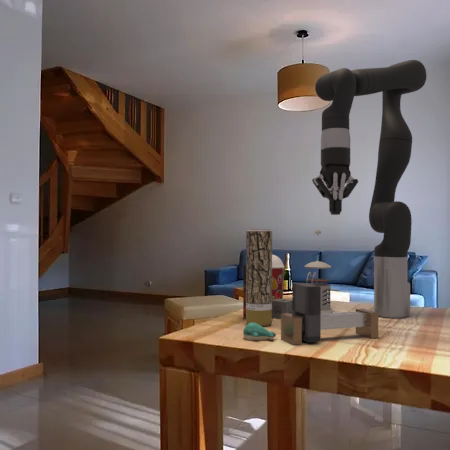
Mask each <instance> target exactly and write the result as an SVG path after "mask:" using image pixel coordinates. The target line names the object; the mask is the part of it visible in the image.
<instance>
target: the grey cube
mask: <svg viewBox="0 0 450 450" xmlns="http://www.w3.org/2000/svg"><path fill="white" fill-rule="evenodd" d="M283 313H290V314H292V299H286V298H283V299H275V300H272V319H276V320H281V314H283Z"/></svg>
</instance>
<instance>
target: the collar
mask: <svg viewBox="0 0 450 450" xmlns="http://www.w3.org/2000/svg"><path fill="white" fill-rule="evenodd" d="M307 283H308V282H294V283H292V285H291V286H292V289H291V290H292V297H291V300H292V314H293V315H304V314H305V331H302V341H304V342H306V343H308V344H309V343H317V342H318V343H319V342H321V335H322V333H321V331H322V330H321V286H316V285H311V284H307Z"/></svg>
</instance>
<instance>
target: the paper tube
mask: <svg viewBox="0 0 450 450" xmlns="http://www.w3.org/2000/svg"><path fill="white" fill-rule="evenodd" d="M245 232H246V233H245V235H246V236H245V238H246V239H245V241H246V244H245V245H246V246H245V247H246V249H245V264H246V320H245V322H246V325H247V324H249V323H252V322H254V323H257V324H259V325H260V326H262V327H267V326H270V325H272V320H273V318H272V255H273V230H272V229H268V228H266V229H265V228H264V229H263V228H261V229H259V228H258V229H257V228H256V229H255V228H253V229H252V228H251V229H250V228H248V229H246V231H245Z"/></svg>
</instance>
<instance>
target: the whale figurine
mask: <svg viewBox="0 0 450 450" xmlns="http://www.w3.org/2000/svg"><path fill="white" fill-rule="evenodd" d="M242 336H243V338H244V339H245V340H246V341H247V340H248V341H253V342H254V341H267V340H273V339H274V338H275V337H276V336H277V334H276V333H275V331H269V330H268V329H266V328H265V326H260V325H259V324H257V323H254V322H252V323H249V324H247V323H246V325H245V326H244V328H243V334H242Z"/></svg>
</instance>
